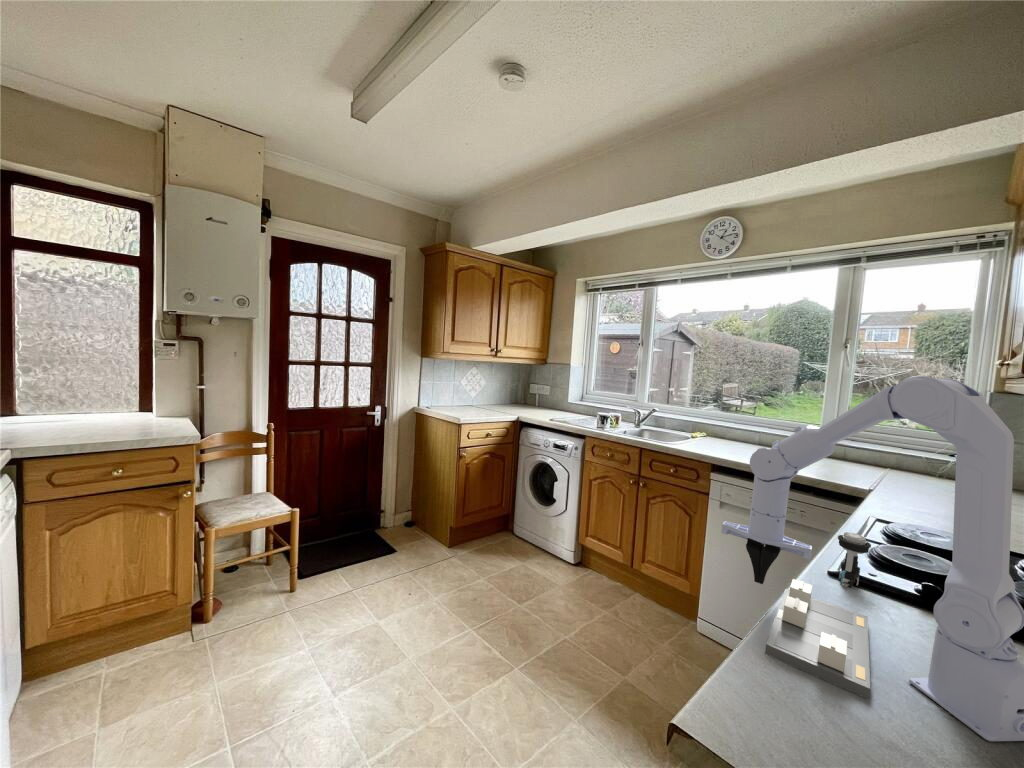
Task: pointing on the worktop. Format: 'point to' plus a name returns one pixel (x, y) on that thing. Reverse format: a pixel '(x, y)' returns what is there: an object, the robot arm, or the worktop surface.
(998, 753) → the worktop surface
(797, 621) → the middle tab
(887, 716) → the worktop surface
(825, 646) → the near tab
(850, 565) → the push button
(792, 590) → the far tab
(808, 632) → the switch plate
